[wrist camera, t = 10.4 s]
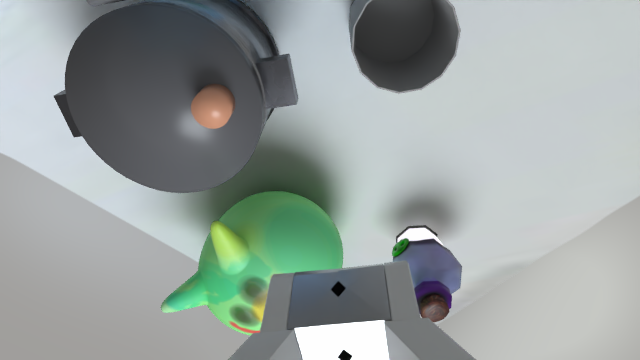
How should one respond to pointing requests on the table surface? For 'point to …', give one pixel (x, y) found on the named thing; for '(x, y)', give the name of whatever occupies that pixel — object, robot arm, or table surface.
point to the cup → (403, 41)
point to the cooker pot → (252, 36)
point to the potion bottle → (429, 270)
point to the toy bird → (257, 256)
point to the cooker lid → (164, 96)
